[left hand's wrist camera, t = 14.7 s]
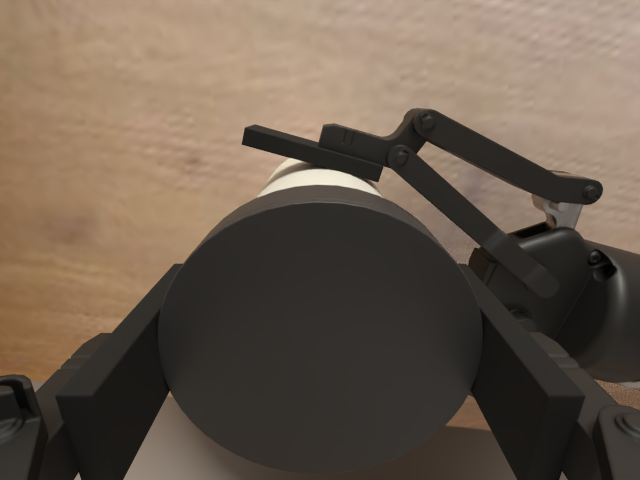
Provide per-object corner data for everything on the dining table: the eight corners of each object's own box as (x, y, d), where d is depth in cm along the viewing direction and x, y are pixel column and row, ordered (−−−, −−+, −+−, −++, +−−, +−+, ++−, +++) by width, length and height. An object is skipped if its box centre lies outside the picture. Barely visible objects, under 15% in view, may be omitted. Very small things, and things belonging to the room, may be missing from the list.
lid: (489, 376, 13) (517, 422, 11) (260, 452, 15) (251, 505, 13) (404, 131, 10) (424, 138, 8) (127, 254, 12) (88, 284, 10)
